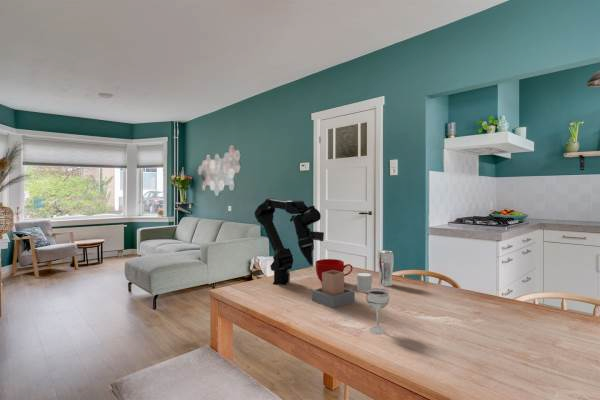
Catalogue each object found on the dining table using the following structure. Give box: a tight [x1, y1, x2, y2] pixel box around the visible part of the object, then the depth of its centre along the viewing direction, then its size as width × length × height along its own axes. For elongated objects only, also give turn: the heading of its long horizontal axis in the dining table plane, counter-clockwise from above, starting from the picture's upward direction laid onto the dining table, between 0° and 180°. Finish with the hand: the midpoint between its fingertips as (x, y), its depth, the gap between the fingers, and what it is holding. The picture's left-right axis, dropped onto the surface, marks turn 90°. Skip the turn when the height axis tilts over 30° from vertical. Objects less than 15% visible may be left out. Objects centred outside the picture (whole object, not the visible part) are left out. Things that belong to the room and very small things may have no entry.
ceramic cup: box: [315, 258, 354, 283], centre depth 152 cm, size 13×17×10 cm
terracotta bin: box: [321, 270, 345, 296], centre depth 128 cm, size 6×6×10 cm
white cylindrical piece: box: [355, 272, 373, 294], centre depth 141 cm, size 7×7×7 cm
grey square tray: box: [311, 287, 356, 309], centre depth 128 cm, size 12×12×4 cm
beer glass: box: [377, 249, 395, 288], centre depth 150 cm, size 7×7×15 cm
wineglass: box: [365, 287, 390, 335], centre depth 101 cm, size 7×7×12 cm
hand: (311, 264), depth 138 cm, fingers open, 9 cm apart
